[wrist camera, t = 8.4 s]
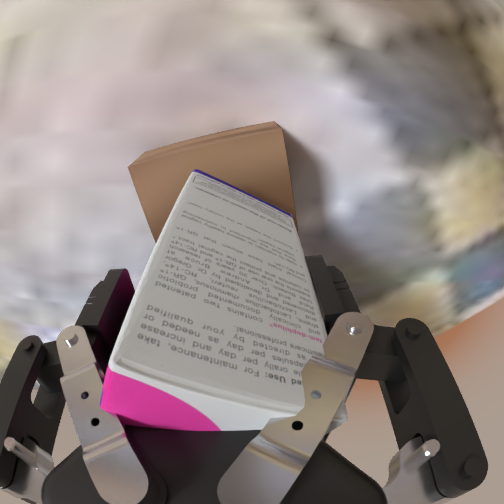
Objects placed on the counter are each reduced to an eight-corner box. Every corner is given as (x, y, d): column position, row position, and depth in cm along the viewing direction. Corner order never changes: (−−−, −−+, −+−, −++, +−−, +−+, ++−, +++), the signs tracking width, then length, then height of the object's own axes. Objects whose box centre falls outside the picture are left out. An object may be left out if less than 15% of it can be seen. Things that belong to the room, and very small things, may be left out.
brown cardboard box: (146, 150, 19) (128, 167, 16) (273, 120, 19) (282, 129, 15) (182, 256, 24) (174, 287, 21) (292, 234, 24) (302, 264, 20)
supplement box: (190, 164, 14) (106, 361, 4) (293, 213, 16) (365, 419, 6) (152, 253, 17) (90, 445, 7) (243, 290, 18) (252, 479, 9)
